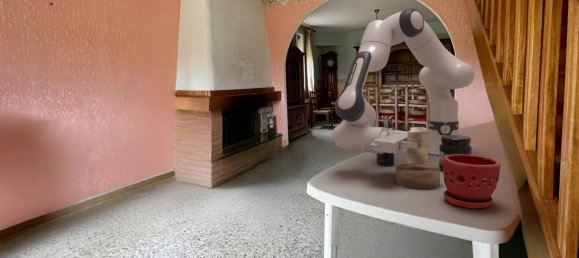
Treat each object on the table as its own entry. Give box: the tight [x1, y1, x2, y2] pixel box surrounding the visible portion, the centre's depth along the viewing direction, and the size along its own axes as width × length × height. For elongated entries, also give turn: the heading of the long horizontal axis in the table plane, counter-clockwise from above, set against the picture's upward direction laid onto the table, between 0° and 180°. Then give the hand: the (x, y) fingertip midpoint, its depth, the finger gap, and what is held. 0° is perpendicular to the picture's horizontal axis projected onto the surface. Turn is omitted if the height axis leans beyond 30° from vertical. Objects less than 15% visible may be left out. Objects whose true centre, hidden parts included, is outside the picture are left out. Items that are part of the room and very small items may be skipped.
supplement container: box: [438, 135, 473, 174], centre depth 121 cm, size 10×10×12 cm
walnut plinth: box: [395, 163, 441, 191], centre depth 108 cm, size 13×13×5 cm
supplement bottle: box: [375, 152, 395, 167], centre depth 132 cm, size 7×7×12 cm
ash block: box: [406, 129, 429, 165], centre depth 106 cm, size 5×5×10 cm
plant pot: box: [442, 154, 501, 209], centre depth 89 cm, size 13×13×12 cm
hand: (420, 143), depth 105 cm, fingers closed on ash block, 5 cm apart
